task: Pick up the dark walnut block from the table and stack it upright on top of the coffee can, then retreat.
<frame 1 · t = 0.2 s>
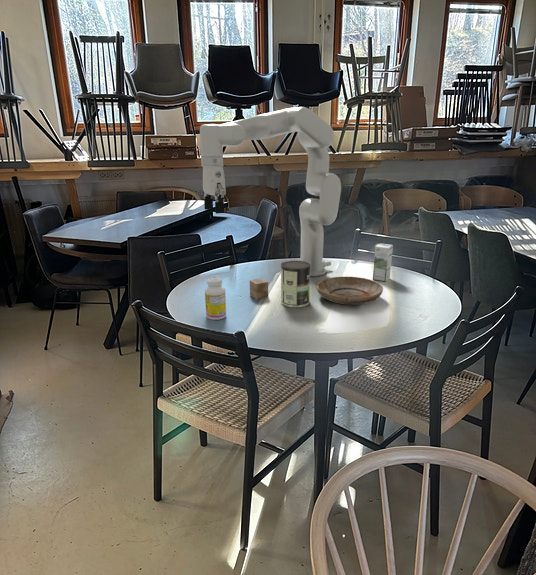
hand: (214, 211, 156), 31 cm above the table, fingers open, 9 cm apart
wooden plate: (348, 299, 158), on the table
syrup box: (381, 279, 179), on the table
coffee can: (295, 302, 155), on the table
walnut block: (259, 296, 161), on the table
supplement bottle: (216, 317, 143), on the table
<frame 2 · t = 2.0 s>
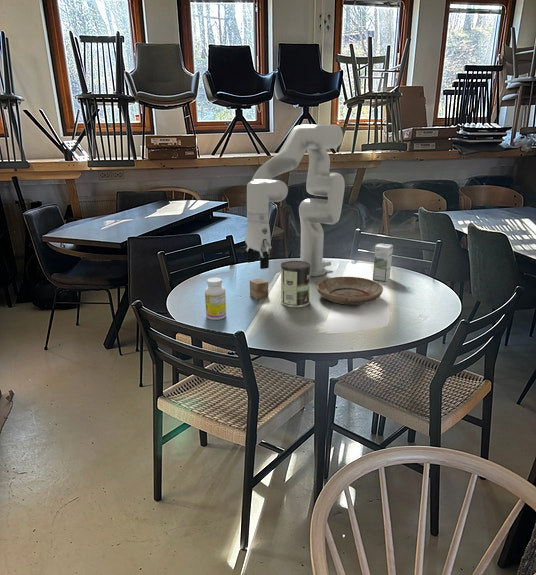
hand: (257, 265, 156), 12 cm above the table, fingers open, 9 cm apart
nothing on the table moved.
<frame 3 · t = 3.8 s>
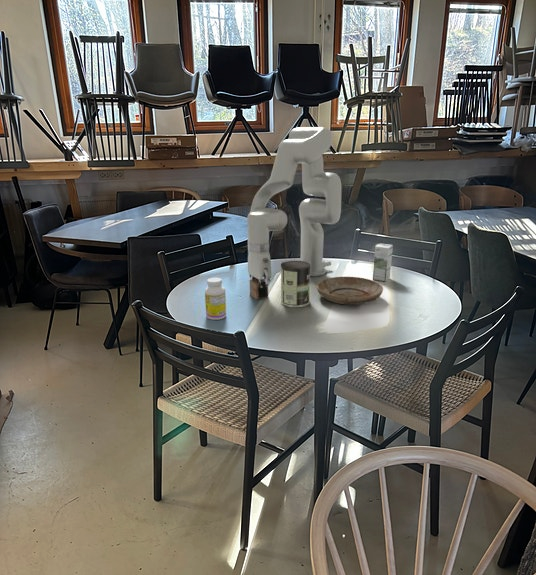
hand: (259, 294, 160), 1 cm above the table, fingers closed on walnut block, 5 cm apart
walnut block: (259, 296, 161), on the table, touching gripper
everything else where it was.
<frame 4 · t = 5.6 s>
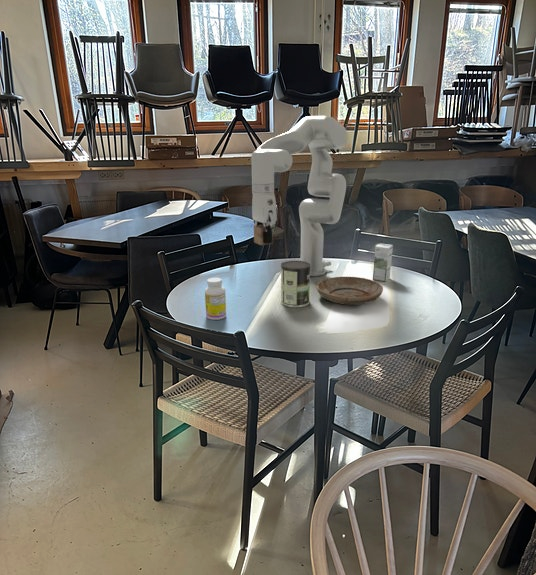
hand: (263, 240, 153), 21 cm above the table, fingers closed on walnut block, 5 cm apart
walnut block: (263, 242, 153), point 20 cm above the table, touching gripper
everything else where it was.
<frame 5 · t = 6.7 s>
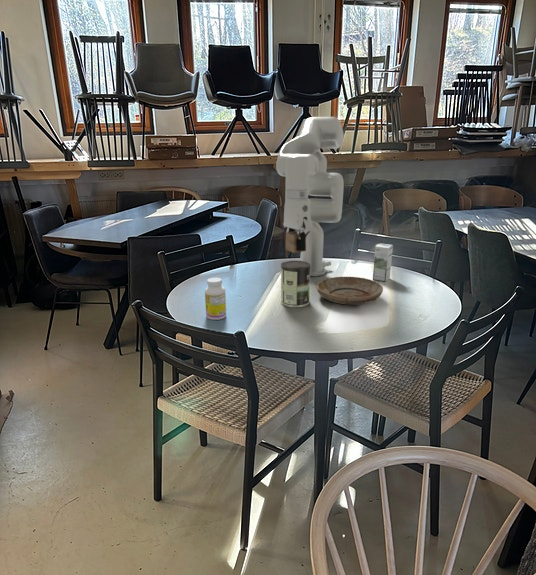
hand: (295, 248, 148), 20 cm above the table, fingers closed on walnut block, 5 cm apart
walnut block: (295, 250, 148), point 19 cm above the table, touching gripper
everything else where it was.
when the fingers open (16 cm above the table, at t = 7.6 s): walnut block drops 1 cm, resting on coffee can.
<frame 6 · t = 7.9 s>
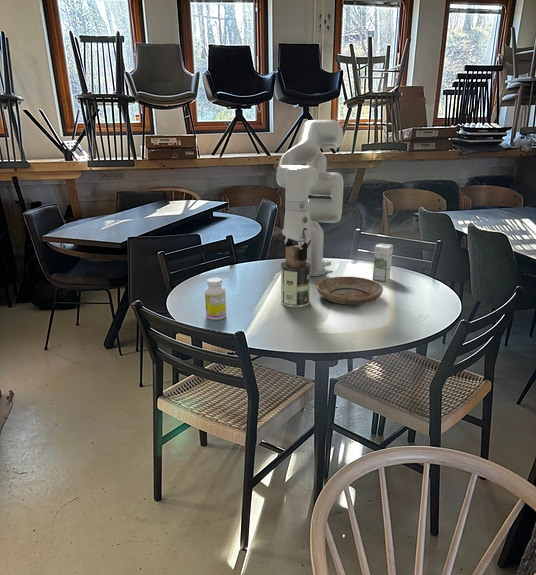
hand: (295, 257, 149), 17 cm above the table, fingers open, 7 cm apart
coffee can: (295, 302, 155), on the table, touching walnut block
walnut block: (295, 264, 150), point 14 cm above the table, touching coffee can
everything else where it was.
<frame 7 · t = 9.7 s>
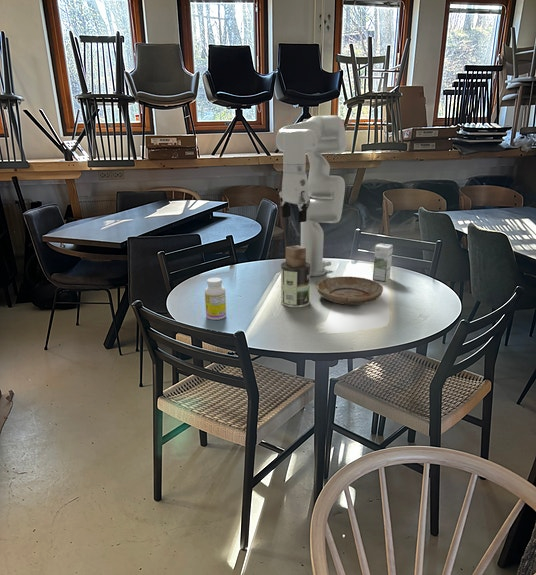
hand: (294, 219, 152), 28 cm above the table, fingers open, 9 cm apart
nothing on the table moved.
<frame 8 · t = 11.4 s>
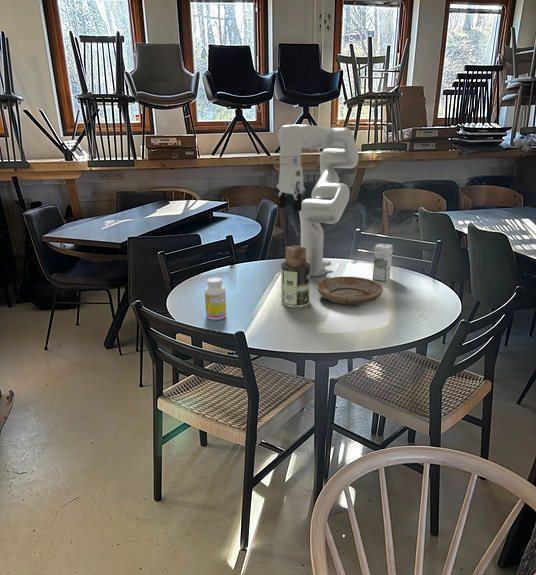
hand: (290, 209, 161), 30 cm above the table, fingers open, 9 cm apart
nothing on the table moved.
at the end: walnut block inside the target area on the coffee can (0.1 cm from its centre), point 14.3 cm above the coffee can's base; walnut block tilted 0°; the gripper is holding nothing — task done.
